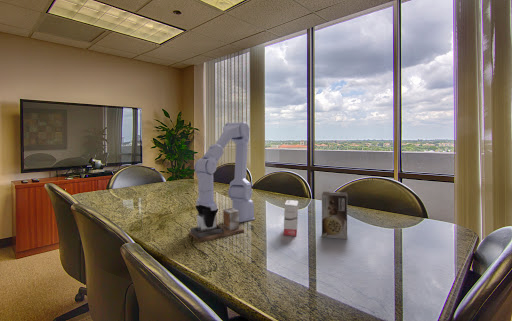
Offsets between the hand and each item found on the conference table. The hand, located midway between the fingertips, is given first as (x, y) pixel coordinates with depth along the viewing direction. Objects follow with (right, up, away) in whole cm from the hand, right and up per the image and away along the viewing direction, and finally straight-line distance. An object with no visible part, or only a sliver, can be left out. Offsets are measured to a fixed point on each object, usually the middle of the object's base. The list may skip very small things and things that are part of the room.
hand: (206, 225), depth 103 cm
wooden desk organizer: (+3, -4, +2) cm, 6 cm away
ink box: (+33, -4, +2) cm, 33 cm away
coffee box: (+48, -4, -2) cm, 49 cm away
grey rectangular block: (0, -3, 0) cm, 3 cm away
